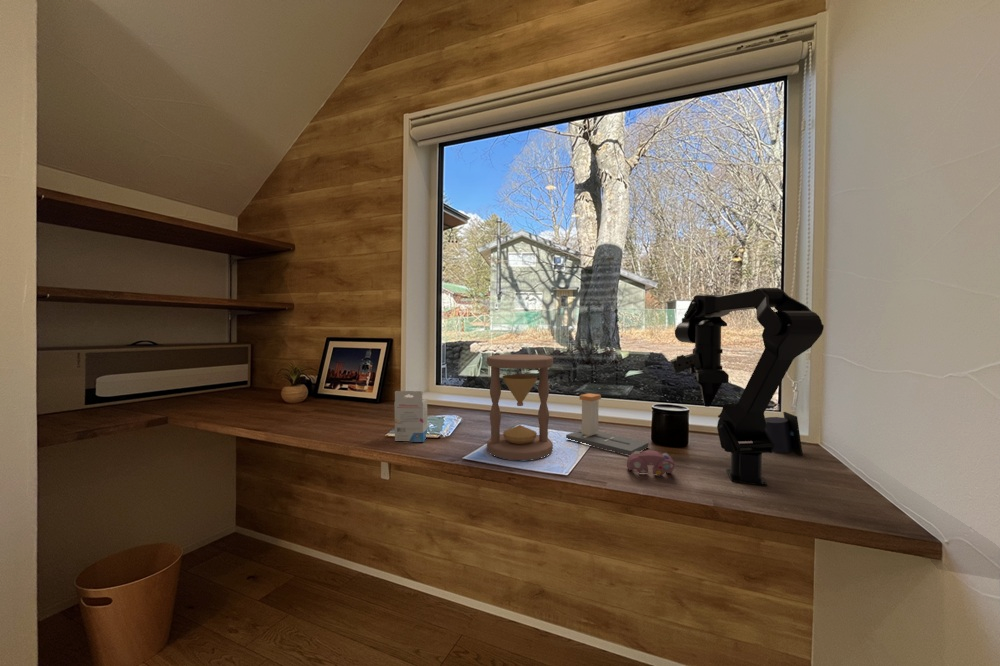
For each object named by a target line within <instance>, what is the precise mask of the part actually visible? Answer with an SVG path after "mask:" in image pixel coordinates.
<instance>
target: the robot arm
mask: <svg viewBox="0 0 1000 666" xmlns="http://www.w3.org/2000/svg"><path fill="white" fill-rule="evenodd" d="M754 309H755V310H756V320H757V322H758V323H759V324H760V325H761V326H762V328H763V330H762V333H761V338H762V343H763V345H764V350H763V351H762V354H761V356H760V358H759V360H758V361H757V364H756V365H755V367H754V370H753V371H752V373H751V376H750V378H749V380H748V381H747V384H746V385H745V387H744V389H743V392H742V393H741V395H740V398H739V400H738V401H737V402H731V403H729V402H728V403H727V402H726V403H724V405H723V406H722V408H721V409H722V410H721V413H720V414H719V415H717V417H718V421H717V425H716V429H717V434H718V439H719V444H720V447H721V449H723V450H724V452H727V453H730V468H726V469H725V470H726V474H727V475H728V478H729V479H730V481H731V482H734V483H741V484H749V485H755V486H756V485H758V486H766V487H767V486H768V482H767V481H766V479H765V478H764V477H763V476H762V475H763V473H762V472H763V471H762V470H763V454H773V453H774V452H773V450H774V447H775V445H774V443H773V441H772V440H771V438H770V437H769V435H768V433H767V432H766V430H765V427H766V424H767V423H766V419H765V418H766V417H765V412H766V410H767V408H768V406H769V404H770V403H771V401H772V399H773V397H774V395H775V394H776V392H777V391H778V388H779V386H780V384H781V383H782V381H783V379H784V378H785V375H786V374H787V372H788V370H789V369H790V366H791V364H792V363H793V361H794V360H795V358H797V357H798V356H800V355H801V354H803V353H805V352H806V351H808V350H809V349H811V348H812V347H813V346H814V344H815V343H816V342H817V341H818V339H819V338H820V337H821V336H822V334H823V332H824V327H825V326H824V324H823V322H822V319H821V317H820V316H819V314H817V312H815V311H812V310H811V309H810V308H809V307H808V306H807V305H806V304H804V303H802V302H800V301H798V300H796V299H794V298H793V297H791V296H789V295H788V293H786V292H785V290H783V289H781V288H778V287H757V288H755V289H751V290H745V291H739V292H734V293H729V294H728V293H727V294H706V293H705V294H695V295H694V296H693V299H691V301H690V303H689V305H688V307H687V310H686V312H685V313H684V314H683V315H684V316H683V317H682V318H681V322H680V323H678V325H676V328H675V330H674V336H675V338H676V340H677V341H679V342H681V343H687V344H694V347H693V349H692V353H690V354H686V355H685V354H681V355H677V356H676V358H673V359H670V360H669V361H670V364H671V366H672V369H673V371H674V374H678V373H681V372H683V371H686V370H689V374H691V375H694V374H696V376H692V378H693V379H694V381H696V383H697V384H698V385H699V388H700V392H701V397H702V402H703V405H704V407H710V406H711V405H712V403H713V401H714V399H715V397H716V395H717V394H718V391H719V390H720V388H721V386H722V384H729V379H730V375H729V374H728V372H726V370H724V369H723V366H722V365H721V363H722V362H721V361H722V360H721V359H722V354H723V348H722V327H728V323H727V322H726V321H725V320H724V319H722V317H725V316H727V315H728V316H729V314H730V313H731V312H734V311H746V310H754ZM774 309H775V310H776V311H774ZM740 442H744V443H740ZM745 442H747V443H745Z"/></svg>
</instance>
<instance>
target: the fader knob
mask: <svg viewBox="0 0 1000 666" xmlns="http://www.w3.org/2000/svg"><path fill="white" fill-rule="evenodd" d="M578 399H579V400H581V430H582V434H585V435H589V436H592V435H595V434H597V433H598V431H599V400H601V399H602V395H601V394H599V393H591V392H590V393H589V392H588V393H584V394H580V395H579V398H578Z"/></svg>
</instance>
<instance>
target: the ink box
mask: <svg viewBox="0 0 1000 666" xmlns="http://www.w3.org/2000/svg"><path fill="white" fill-rule="evenodd" d="M408 395H409V396H410V397H409V396H408ZM405 396H406V397H405ZM407 396H408V397H407ZM411 396H413V397H411ZM393 404H394V405H393V406H394V442H395V441H413V442H423V443H424V442H425V441H426V440H427V439H426V434H427V432H428V398H423V392H422V391H421V390H417V391H416V390H395V391H394V403H393ZM425 439H426V440H425Z"/></svg>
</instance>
